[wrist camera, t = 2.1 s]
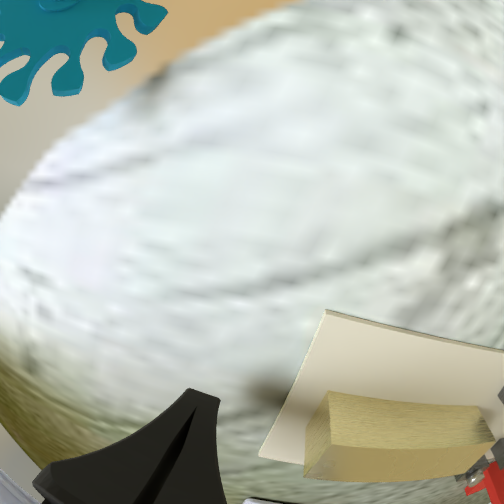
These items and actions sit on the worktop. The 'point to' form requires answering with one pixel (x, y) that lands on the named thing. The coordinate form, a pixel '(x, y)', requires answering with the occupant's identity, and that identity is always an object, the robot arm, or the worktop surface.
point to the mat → (386, 377)
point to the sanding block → (392, 439)
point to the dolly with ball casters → (484, 460)
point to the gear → (66, 38)
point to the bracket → (491, 484)
